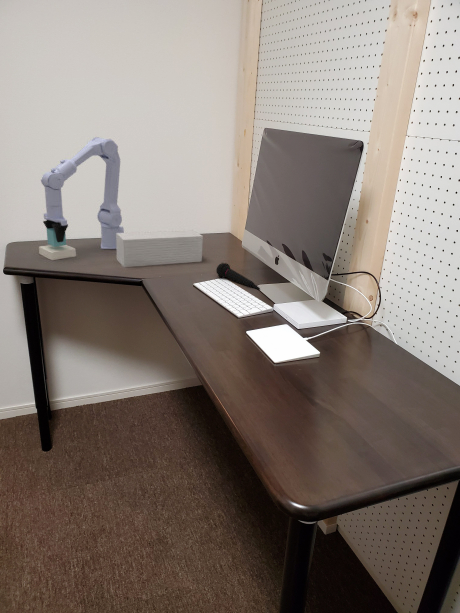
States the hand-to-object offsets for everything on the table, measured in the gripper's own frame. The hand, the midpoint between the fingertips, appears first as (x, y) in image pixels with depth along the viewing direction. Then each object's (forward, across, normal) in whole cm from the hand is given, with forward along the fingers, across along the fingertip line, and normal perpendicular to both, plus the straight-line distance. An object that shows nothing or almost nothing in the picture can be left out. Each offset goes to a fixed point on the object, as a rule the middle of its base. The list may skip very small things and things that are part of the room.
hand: (56, 240), depth 179 cm
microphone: (+6, +64, +35) cm, 73 cm away
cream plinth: (+6, 0, 0) cm, 6 cm away
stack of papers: (+6, +27, +29) cm, 40 cm away
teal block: (+2, 0, 0) cm, 2 cm away
